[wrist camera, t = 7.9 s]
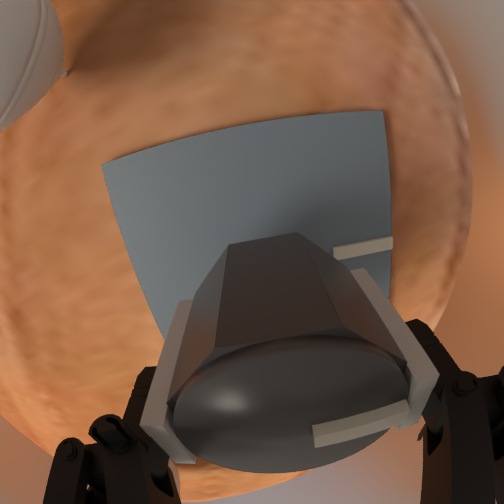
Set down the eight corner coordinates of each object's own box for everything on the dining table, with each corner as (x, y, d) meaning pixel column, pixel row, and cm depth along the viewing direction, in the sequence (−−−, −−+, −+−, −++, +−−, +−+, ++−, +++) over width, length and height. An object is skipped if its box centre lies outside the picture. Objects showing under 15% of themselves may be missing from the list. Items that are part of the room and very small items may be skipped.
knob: (221, 367, 14) (213, 485, 8) (182, 253, 11) (123, 384, 5) (346, 345, 14) (389, 456, 7) (344, 223, 11) (440, 330, 5)
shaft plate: (108, 162, 15) (49, 181, 9) (375, 111, 14) (435, 106, 8) (182, 364, 21) (170, 424, 15) (379, 329, 20) (410, 383, 15)
